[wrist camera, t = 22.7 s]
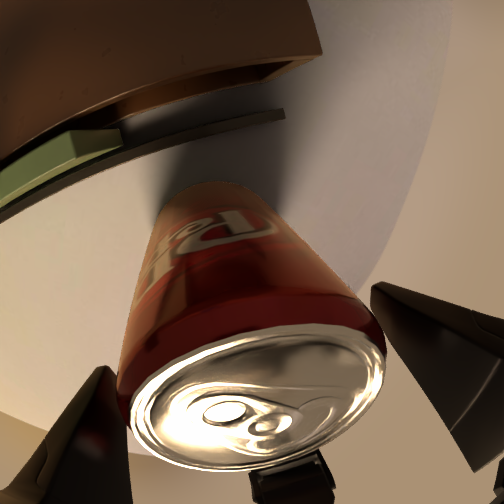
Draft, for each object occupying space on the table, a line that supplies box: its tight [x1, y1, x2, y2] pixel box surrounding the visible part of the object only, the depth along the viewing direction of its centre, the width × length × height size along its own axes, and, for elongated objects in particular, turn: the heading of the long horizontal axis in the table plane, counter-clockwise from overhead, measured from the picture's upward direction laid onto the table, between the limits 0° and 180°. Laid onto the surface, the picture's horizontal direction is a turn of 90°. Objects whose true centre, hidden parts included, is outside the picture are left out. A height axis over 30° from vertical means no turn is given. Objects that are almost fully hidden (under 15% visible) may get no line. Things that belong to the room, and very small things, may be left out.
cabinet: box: [0, 0, 323, 224], centre depth 8 cm, size 10×20×7 cm, turn 103°
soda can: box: [116, 181, 387, 471], centre depth 11 cm, size 7×7×12 cm
